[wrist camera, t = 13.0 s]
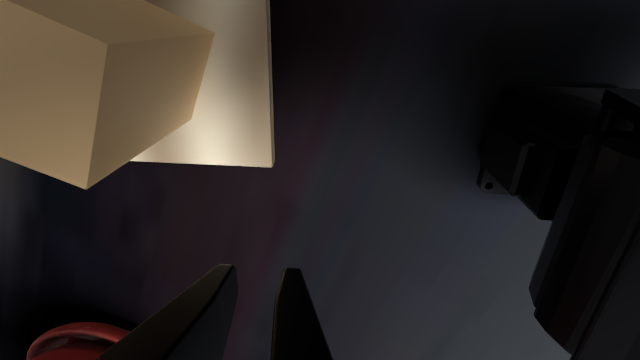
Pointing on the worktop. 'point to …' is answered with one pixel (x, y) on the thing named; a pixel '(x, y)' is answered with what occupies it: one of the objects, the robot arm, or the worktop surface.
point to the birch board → (226, 89)
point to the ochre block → (94, 82)
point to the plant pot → (75, 341)
